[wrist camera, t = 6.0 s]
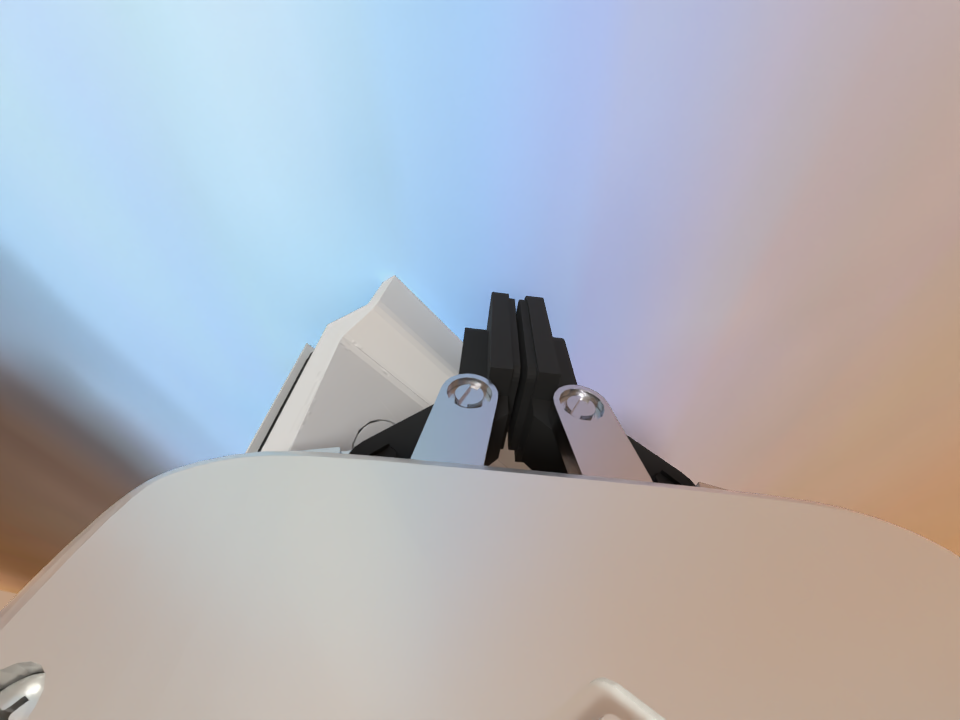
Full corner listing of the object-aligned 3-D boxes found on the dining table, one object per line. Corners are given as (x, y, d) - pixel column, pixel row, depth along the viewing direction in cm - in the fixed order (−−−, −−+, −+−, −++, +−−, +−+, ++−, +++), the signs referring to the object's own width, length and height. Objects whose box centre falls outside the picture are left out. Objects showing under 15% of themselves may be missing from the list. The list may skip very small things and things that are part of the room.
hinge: (620, 497, 18) (677, 792, 11) (545, 514, 21) (551, 768, 13) (385, 265, 11) (73, 684, 4) (311, 332, 13) (27, 670, 6)
